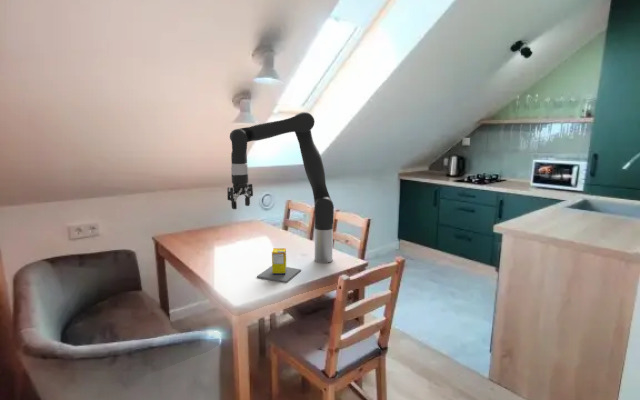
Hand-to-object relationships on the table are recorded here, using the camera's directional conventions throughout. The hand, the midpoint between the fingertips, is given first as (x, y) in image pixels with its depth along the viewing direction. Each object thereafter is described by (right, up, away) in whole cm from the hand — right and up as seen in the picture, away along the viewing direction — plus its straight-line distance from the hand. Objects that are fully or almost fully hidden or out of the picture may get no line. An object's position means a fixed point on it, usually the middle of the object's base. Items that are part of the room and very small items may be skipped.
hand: (241, 207), depth 173 cm
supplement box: (+18, -31, -1) cm, 36 cm away
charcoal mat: (+18, -31, -1) cm, 36 cm away
